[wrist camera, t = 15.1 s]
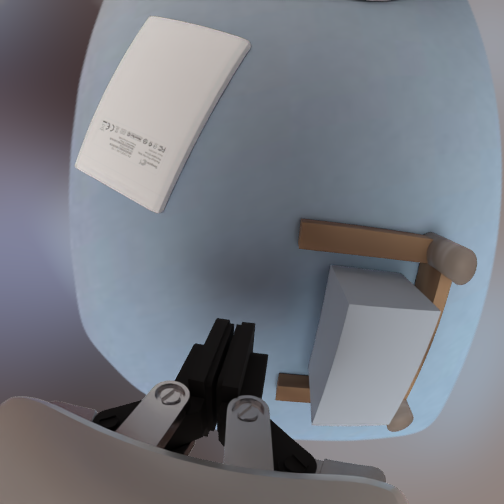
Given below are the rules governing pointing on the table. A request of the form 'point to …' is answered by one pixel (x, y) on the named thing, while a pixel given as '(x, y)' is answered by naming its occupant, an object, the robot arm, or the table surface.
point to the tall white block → (367, 346)
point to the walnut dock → (391, 247)
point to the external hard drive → (158, 107)
